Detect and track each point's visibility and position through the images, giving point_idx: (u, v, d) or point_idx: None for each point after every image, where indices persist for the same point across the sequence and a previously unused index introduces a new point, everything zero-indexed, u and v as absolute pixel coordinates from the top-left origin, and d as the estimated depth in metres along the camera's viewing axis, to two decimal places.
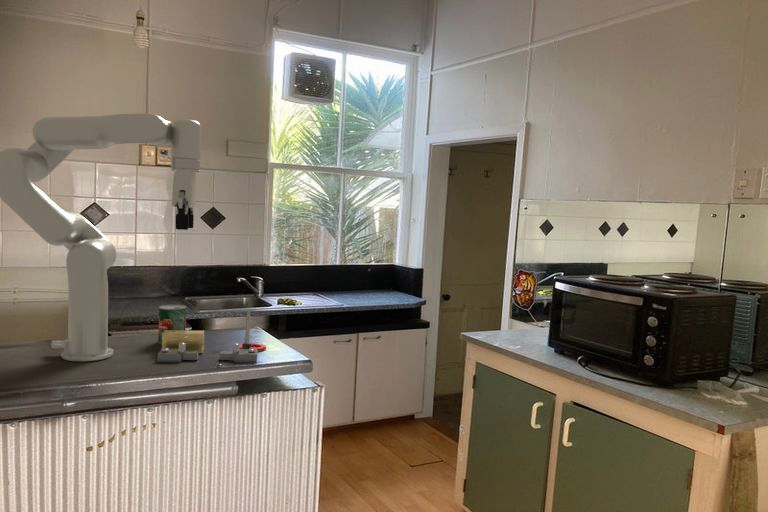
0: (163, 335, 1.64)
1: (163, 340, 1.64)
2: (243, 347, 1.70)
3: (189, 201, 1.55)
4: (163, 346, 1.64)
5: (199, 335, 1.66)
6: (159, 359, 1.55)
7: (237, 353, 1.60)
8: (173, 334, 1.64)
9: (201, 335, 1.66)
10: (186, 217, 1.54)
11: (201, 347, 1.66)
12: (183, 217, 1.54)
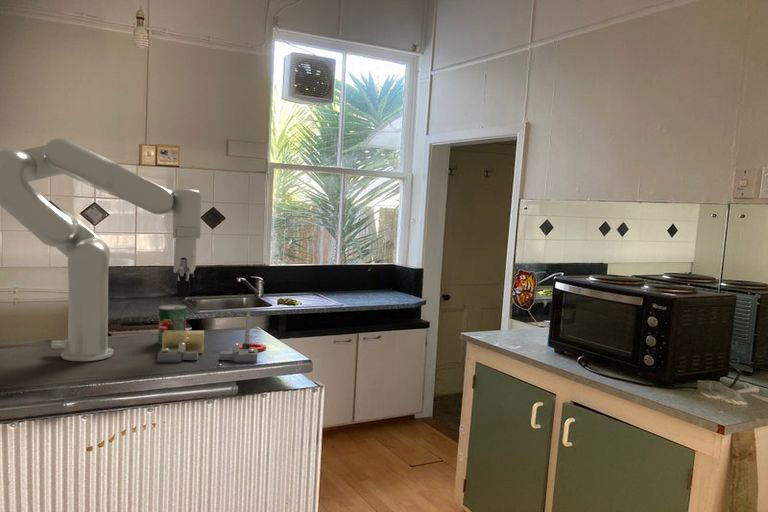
0: (163, 335, 1.63)
1: (163, 340, 1.64)
2: (243, 347, 1.70)
3: (190, 268, 1.61)
4: (163, 346, 1.64)
5: (199, 335, 1.66)
6: (159, 359, 1.55)
7: (237, 353, 1.60)
8: (173, 334, 1.64)
9: (201, 335, 1.66)
10: (187, 283, 1.61)
11: (201, 347, 1.66)
12: (184, 284, 1.60)
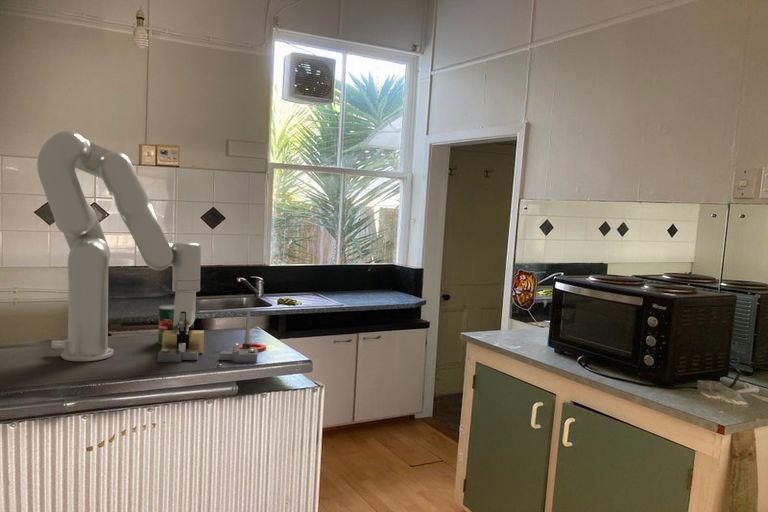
0: (163, 335, 1.63)
1: (163, 340, 1.63)
2: (243, 347, 1.70)
3: (190, 322, 1.62)
4: (163, 346, 1.64)
5: (200, 335, 1.66)
6: (159, 359, 1.55)
7: (237, 353, 1.60)
8: (173, 334, 1.64)
9: (202, 335, 1.66)
10: (187, 337, 1.62)
11: (202, 347, 1.66)
12: (184, 337, 1.61)
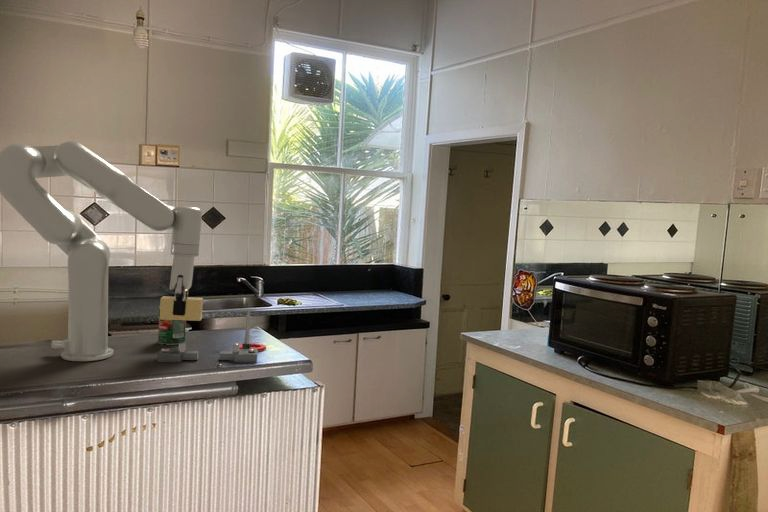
0: (161, 300, 1.63)
1: (161, 305, 1.63)
2: (243, 347, 1.70)
3: (186, 286, 1.61)
4: (161, 311, 1.63)
5: (197, 301, 1.64)
6: (159, 359, 1.55)
7: (237, 353, 1.60)
8: (171, 299, 1.63)
9: (199, 301, 1.65)
10: (183, 304, 1.63)
11: (199, 313, 1.65)
12: (180, 304, 1.62)
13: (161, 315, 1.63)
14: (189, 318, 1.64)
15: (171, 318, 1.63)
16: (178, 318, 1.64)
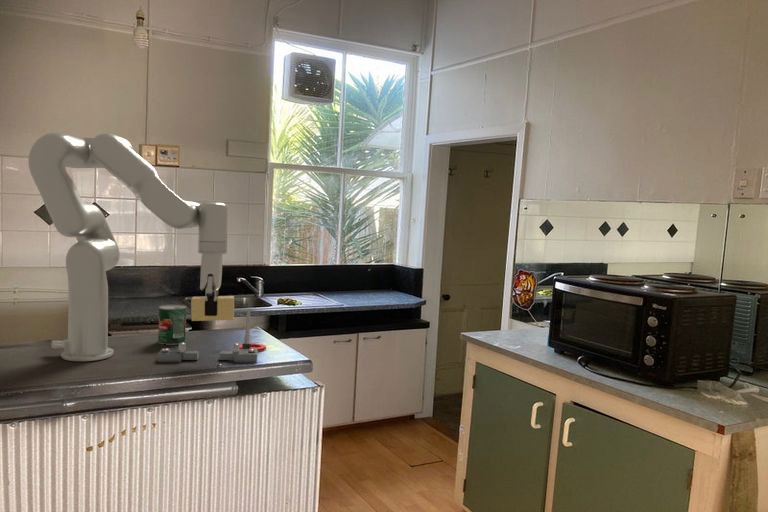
0: (192, 301, 1.57)
1: (192, 306, 1.57)
2: (243, 347, 1.70)
3: (217, 285, 1.55)
4: (193, 312, 1.57)
5: (229, 300, 1.58)
6: (159, 359, 1.55)
7: (237, 353, 1.60)
8: (202, 299, 1.57)
9: (231, 300, 1.58)
10: (215, 304, 1.57)
11: (232, 312, 1.59)
12: (212, 304, 1.56)
13: (193, 316, 1.57)
14: (222, 318, 1.58)
15: (203, 319, 1.58)
16: (210, 318, 1.58)
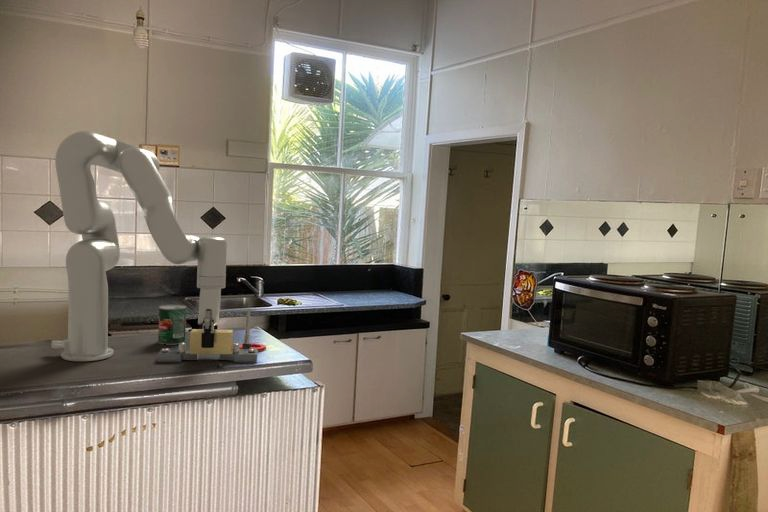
0: (191, 334, 1.57)
1: (191, 339, 1.57)
2: (243, 347, 1.70)
3: (215, 319, 1.55)
4: (191, 345, 1.58)
5: (228, 334, 1.59)
6: (159, 359, 1.55)
7: (237, 353, 1.60)
8: (201, 333, 1.58)
9: (230, 334, 1.59)
10: (212, 335, 1.55)
11: (230, 347, 1.60)
12: (209, 336, 1.54)
13: (191, 349, 1.58)
14: (220, 352, 1.59)
15: (201, 352, 1.58)
16: (208, 352, 1.59)
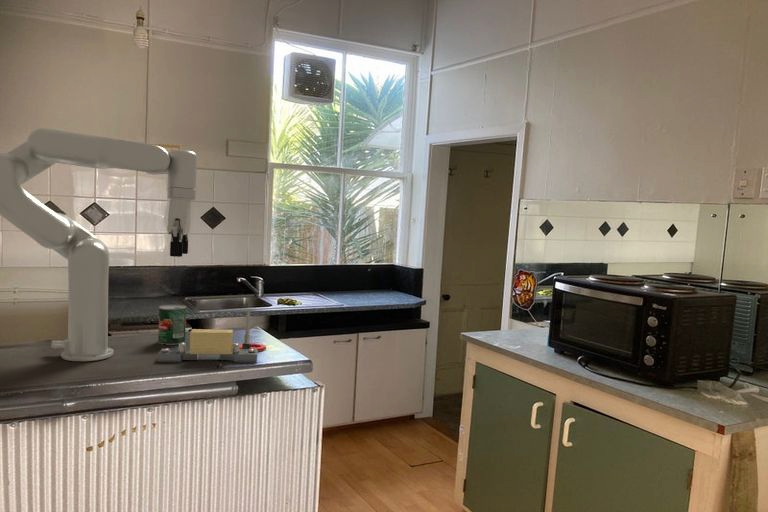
0: (191, 334, 1.57)
1: (191, 339, 1.57)
2: (243, 347, 1.70)
3: (184, 229, 1.60)
4: (191, 345, 1.58)
5: (228, 334, 1.59)
6: (159, 359, 1.55)
7: (237, 353, 1.60)
8: (201, 333, 1.58)
9: (230, 334, 1.59)
10: (180, 245, 1.60)
11: (230, 347, 1.60)
12: (177, 245, 1.59)
13: (191, 349, 1.58)
14: (220, 352, 1.59)
15: (201, 352, 1.58)
16: (208, 352, 1.59)
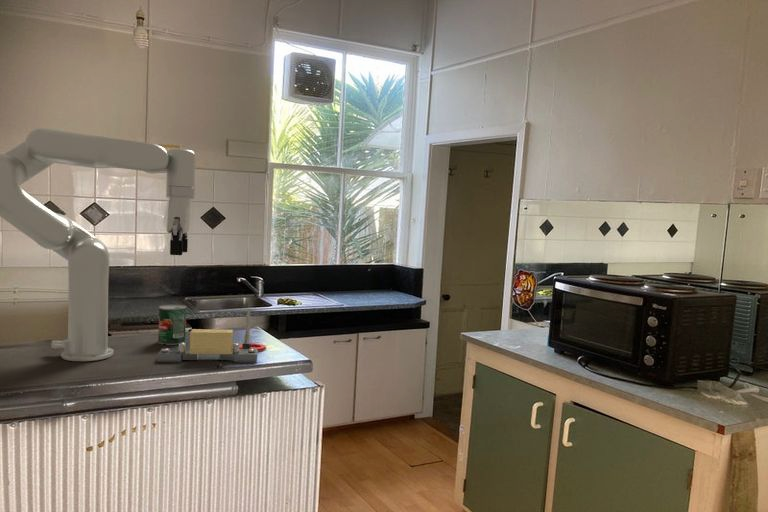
0: (191, 334, 1.57)
1: (191, 339, 1.57)
2: (243, 347, 1.70)
3: (183, 228, 1.60)
4: (191, 345, 1.58)
5: (228, 334, 1.59)
6: (159, 359, 1.55)
7: (237, 353, 1.60)
8: (201, 333, 1.58)
9: (230, 334, 1.59)
10: (180, 243, 1.60)
11: (230, 347, 1.60)
12: (177, 243, 1.59)
13: (191, 349, 1.58)
14: (220, 352, 1.59)
15: (201, 352, 1.58)
16: (208, 352, 1.59)
